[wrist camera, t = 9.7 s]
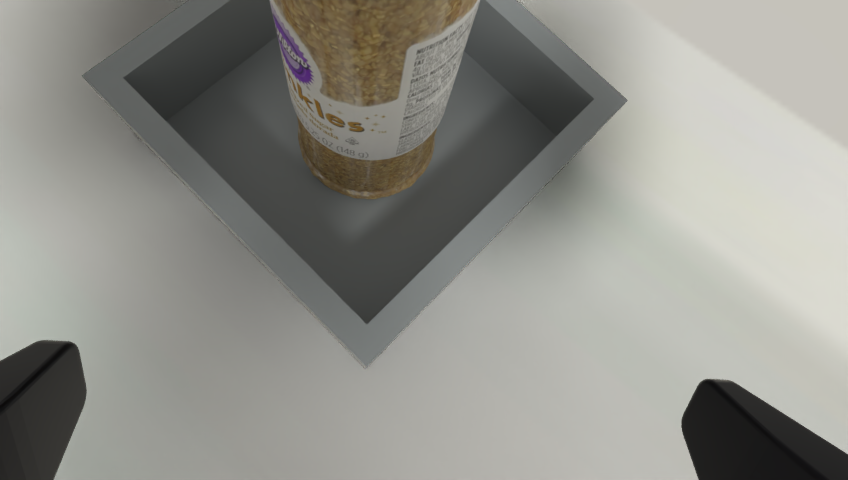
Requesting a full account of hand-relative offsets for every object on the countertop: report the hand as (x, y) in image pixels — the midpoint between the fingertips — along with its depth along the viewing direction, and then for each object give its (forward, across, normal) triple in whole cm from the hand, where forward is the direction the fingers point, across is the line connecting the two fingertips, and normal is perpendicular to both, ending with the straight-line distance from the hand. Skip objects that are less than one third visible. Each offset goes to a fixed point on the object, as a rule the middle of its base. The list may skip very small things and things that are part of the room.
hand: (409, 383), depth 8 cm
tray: (+12, +1, +1) cm, 13 cm away
